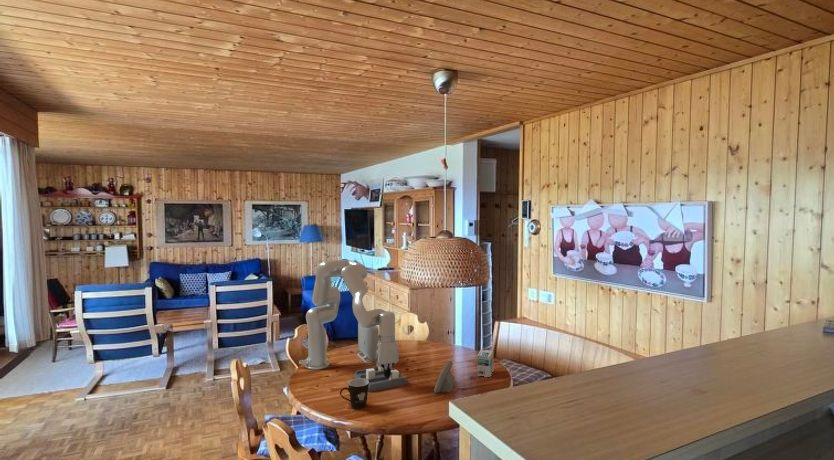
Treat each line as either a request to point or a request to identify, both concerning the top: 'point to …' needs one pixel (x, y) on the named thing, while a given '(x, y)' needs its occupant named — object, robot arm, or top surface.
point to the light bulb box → (485, 363)
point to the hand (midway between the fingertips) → (387, 376)
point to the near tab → (394, 374)
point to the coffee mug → (357, 393)
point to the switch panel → (380, 380)
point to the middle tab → (370, 373)
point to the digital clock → (445, 379)
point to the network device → (368, 342)
